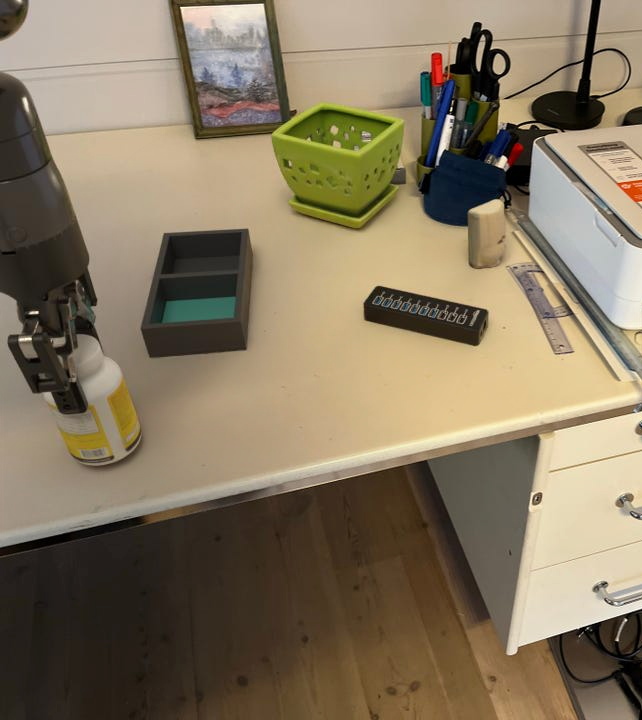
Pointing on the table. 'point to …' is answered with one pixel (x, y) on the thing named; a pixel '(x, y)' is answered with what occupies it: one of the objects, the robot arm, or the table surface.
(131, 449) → the pill bottle
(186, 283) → the dark grey divided tray
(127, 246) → the table surface
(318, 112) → the flower pot
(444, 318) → the multiport hub
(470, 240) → the cream tall rounded block
